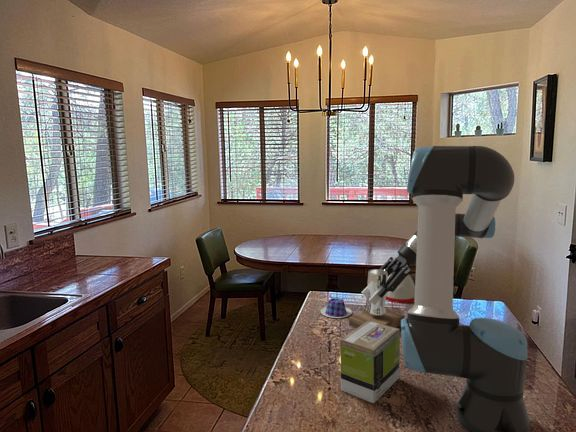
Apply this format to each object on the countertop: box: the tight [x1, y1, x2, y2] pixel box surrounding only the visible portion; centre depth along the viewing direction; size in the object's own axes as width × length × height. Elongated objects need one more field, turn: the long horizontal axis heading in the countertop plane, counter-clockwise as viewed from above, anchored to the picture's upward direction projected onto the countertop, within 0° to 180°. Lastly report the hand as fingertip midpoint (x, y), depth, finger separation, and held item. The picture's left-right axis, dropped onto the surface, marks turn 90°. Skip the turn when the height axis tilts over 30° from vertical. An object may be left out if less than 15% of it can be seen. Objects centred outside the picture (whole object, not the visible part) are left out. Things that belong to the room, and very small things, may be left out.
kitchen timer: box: [385, 274, 415, 304], centre depth 176 cm, size 14×14×15 cm
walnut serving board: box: [348, 308, 406, 329], centre depth 150 cm, size 16×12×3 cm
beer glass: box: [367, 268, 388, 316], centre depth 148 cm, size 7×7×15 cm
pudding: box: [319, 297, 353, 319], centre depth 161 cm, size 12×12×5 cm
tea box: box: [340, 321, 401, 404], centre depth 111 cm, size 15×10×15 cm, turn 141°
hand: (367, 298), depth 148 cm, fingers closed on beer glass, 7 cm apart
